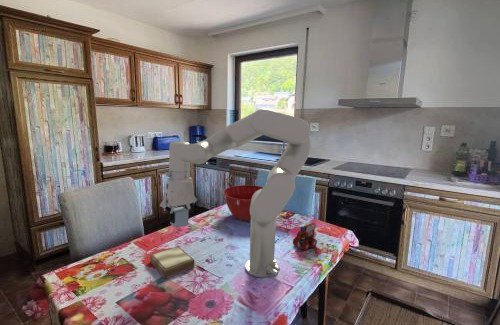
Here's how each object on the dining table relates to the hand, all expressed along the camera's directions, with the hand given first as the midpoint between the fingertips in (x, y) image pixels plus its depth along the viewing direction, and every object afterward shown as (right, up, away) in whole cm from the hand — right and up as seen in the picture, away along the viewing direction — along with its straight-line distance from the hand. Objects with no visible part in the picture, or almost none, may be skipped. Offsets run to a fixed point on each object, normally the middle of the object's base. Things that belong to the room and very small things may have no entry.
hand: (179, 220), depth 101 cm
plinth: (-3, -18, +3) cm, 19 cm away
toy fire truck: (+53, -17, +20) cm, 59 cm away
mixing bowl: (+26, -10, +54) cm, 61 cm away
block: (0, -2, 0) cm, 2 cm away
